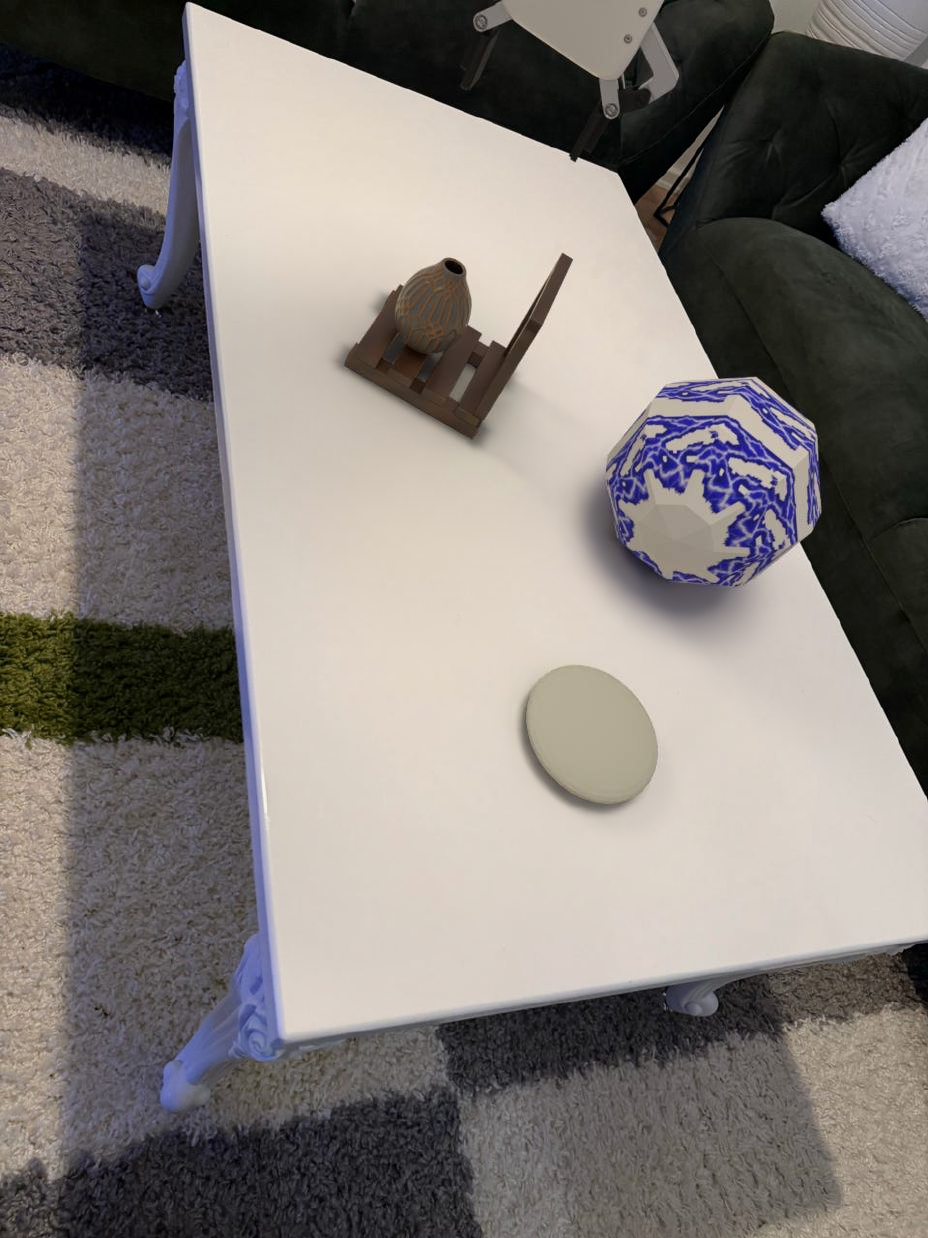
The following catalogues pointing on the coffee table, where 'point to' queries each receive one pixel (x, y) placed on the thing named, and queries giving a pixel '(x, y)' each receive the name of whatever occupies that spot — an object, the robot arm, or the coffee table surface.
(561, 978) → the coffee table surface
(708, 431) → the ornament
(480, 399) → the rack
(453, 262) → the vase
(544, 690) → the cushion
